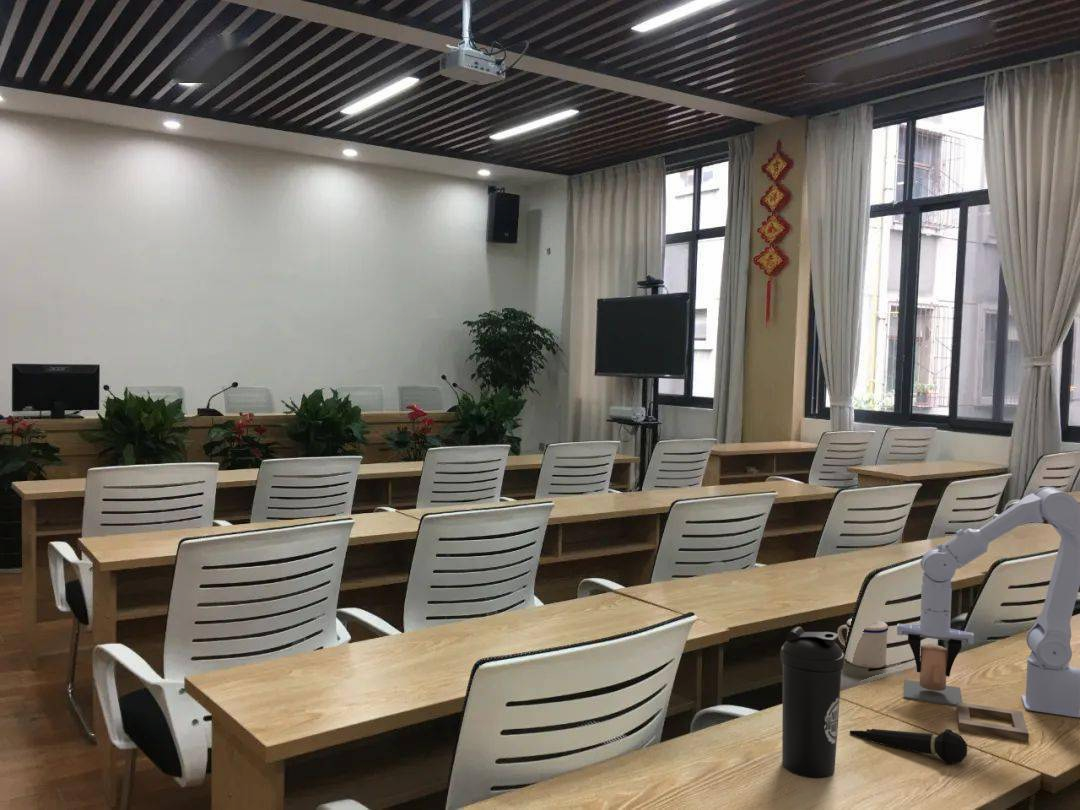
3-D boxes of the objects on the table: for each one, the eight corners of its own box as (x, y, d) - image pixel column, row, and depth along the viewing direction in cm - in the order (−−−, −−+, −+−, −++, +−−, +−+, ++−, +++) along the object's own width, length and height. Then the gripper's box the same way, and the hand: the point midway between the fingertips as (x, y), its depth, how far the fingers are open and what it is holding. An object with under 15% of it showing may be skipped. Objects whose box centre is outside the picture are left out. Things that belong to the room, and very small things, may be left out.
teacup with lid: (894, 664, 205) (896, 613, 205) (872, 671, 200) (874, 620, 199) (848, 650, 215) (850, 602, 214) (826, 657, 209) (827, 607, 209)
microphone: (848, 754, 164) (966, 774, 151) (842, 727, 162) (960, 744, 150) (857, 736, 168) (972, 754, 155) (851, 710, 167) (967, 725, 154)
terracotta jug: (917, 679, 190) (918, 642, 189) (942, 681, 189) (944, 644, 188) (923, 693, 182) (924, 654, 182) (949, 695, 181) (951, 657, 181)
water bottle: (831, 786, 144) (836, 645, 143) (769, 770, 149) (773, 633, 148) (846, 763, 153) (851, 630, 152) (787, 748, 158) (791, 619, 157)
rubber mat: (960, 689, 190) (960, 687, 190) (962, 707, 180) (962, 705, 180) (904, 681, 194) (904, 679, 194) (903, 698, 184) (903, 696, 184)
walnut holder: (1021, 719, 174) (1021, 711, 174) (1028, 741, 163) (1028, 733, 163) (956, 709, 178) (956, 701, 178) (958, 730, 168) (959, 722, 168)
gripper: (973, 608, 187) (970, 672, 187) (898, 599, 192) (896, 662, 193) (975, 616, 180) (972, 683, 181) (897, 607, 186) (895, 672, 186)
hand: (933, 672), depth 187 cm, fingers closed on terracotta jug, 5 cm apart
